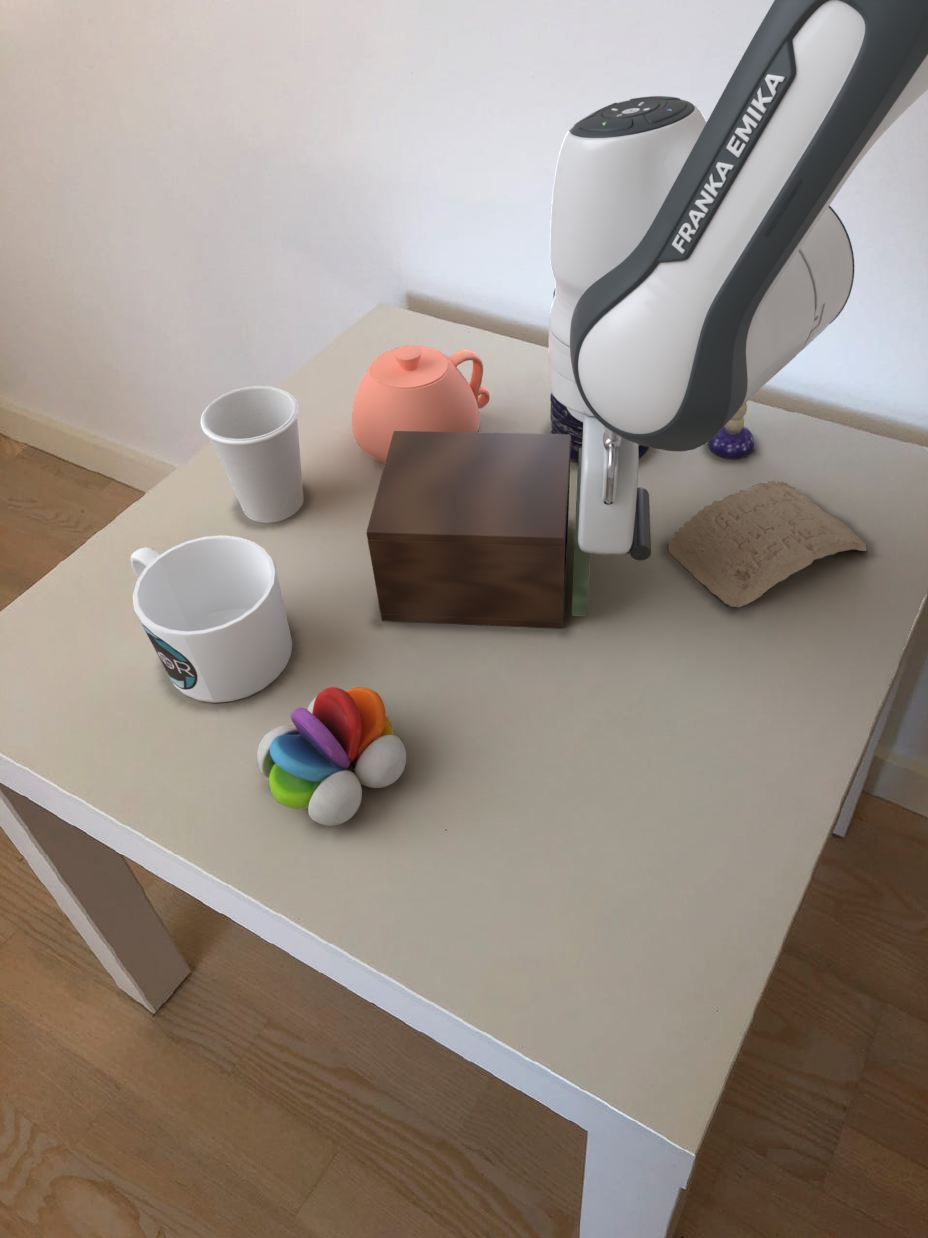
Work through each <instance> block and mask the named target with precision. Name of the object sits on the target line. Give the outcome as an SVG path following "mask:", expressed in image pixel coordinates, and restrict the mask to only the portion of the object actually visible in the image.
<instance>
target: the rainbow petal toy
mask: <svg viewBox="0 0 928 1238" xmlns="http://www.w3.org/2000/svg"><path fill="white" fill-rule="evenodd" d="M290 719H291V722H292V724H293V725H280V726H277V727H275V728H273V729H271V730H269V731H268V732H267V733H266V734H265V735H264V736H263V737H262V739H261V740H260V742H259V745H258V747H257V752H256V761H257V766H258V767H259V770H260V772H261V774H262V775H263V776H264V777H266V778H267V779H268V786H269V789H270V793H271V795H272V797H273V798H274V800H275V801H277V802H278V803H279V804H280V805H282V806H284V807H287V808H289V809H296V810H298V809H299V810H300V809H308V811H307V813H308V816H309V818H310V819H311V820H312V821H313V822H315V823H317V824H319V825H322V826H327V827H332V826H338V825H341V824H344V823H346V822H347V821H349V820H350V819H352V818H353V816H354V815H356V813H357V811H358V810H359V808H360V805H361V803H362V798H363V788H362V786H364V787H367V788H371V789H382V788H385V787H388V786H390V785H392V784H394V783H395V782H396V781H398V779H400V777H401V776H402V774H403V773H404V770H405V768H406V764H407V751H406V748H405V745H404V743H403V742H402V740H401V739H400V738H399V736H398V735H395V734H394V731H393V725H392V723H391V721H390V720H389V718H388V716H387V712H386V707H385V703H384V701H383V698H382V697H381V695H380V694H379V693H378V692H377V691H375V690H373V689H370V688H367V687H360V686H359V687H352V688H349V689H346V690H344V689H342V688H340V687H336V686H330V687H326V688H324V689H322V690H321V691H320V692H318V693H317V695H316V696H315V697H314V698H313V699H312V700H311V701H310V703H309V704H308V707H307V709H306V708H304V707H297V708H295V709H293V711H292V712H291V714H290ZM349 767H350V768H351V769H353V770H354V772H353V771H351V770H348V769H349Z"/></svg>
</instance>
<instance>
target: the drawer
mask: <svg viewBox="0 0 928 1238" xmlns="http://www.w3.org/2000/svg"><path fill="white" fill-rule="evenodd" d="M581 463H582V448H579V456H578V465H577V478H576V479H577V481H576V499H575V501H576V503H575V522H574V523H575V526H574V543H573V544H574V547H573V569H572V572H573V573H572V597H571V598H572V600H571V616H572V617H573V616H574V617H587V616H588V608H589V607H588V605H589V590H590V589H589V588H590V573H591V571H590V569H591V554H592V553H586V552H583V551H582V550H581V549H580V547H579V544H578V529H579V507H580V485H581ZM650 507H651V506H650V493H649V491H648V490H647V489H646V488H643V487H637V498H636V511H635V522H634V533H633V541H632V546H631V548H630V550H629V551H628V552H627V553H625V554H624V555H629V556H630V557H631V559H633V561H636V562H644V561H646V560H648V559H649V558H650V557H651V555H652V538H651V537H652V536H651V535H652V534H651V509H650Z"/></svg>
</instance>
